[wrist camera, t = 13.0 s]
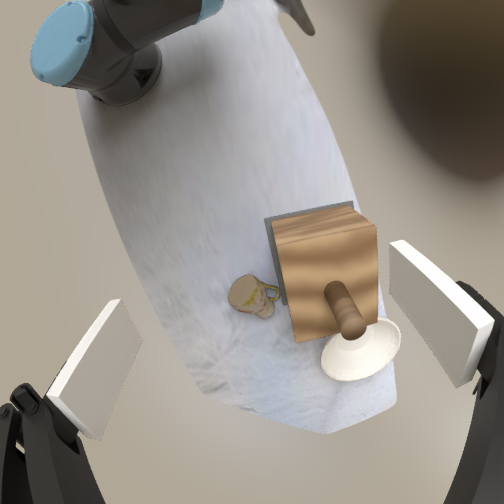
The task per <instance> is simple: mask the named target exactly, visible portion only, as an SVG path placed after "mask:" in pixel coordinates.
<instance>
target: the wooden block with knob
mask: <svg viewBox="0 0 504 504" xmlns="http://www.w3.org/2000/svg"><path fill="white" fill-rule="evenodd" d="M271 224H272V228H273V233H274V238H275V242H276V247H277V252H278V257H279V262H280V266H281V271H282V276H283V281H284V286H285V291H286V296H287V301H288V306H289V311H290V316H291V321H292V326H293V331H294V336H295V341H296V343H299V342H303V341H308V340H312V339H317V338H321V337H326V336H330V335H334V334H338V333H341V335H342V337H343V338H344V339H345V340H349V341H352V340H356V339H358V338H360V337H361V336H362V335H363V334H364V333H365V332H366V329H367V326H368V325H372V324H375V323H378V252H377V251H378V250H377V232H376V226H375V225H374V224H372V223H371V222H370V221H368V220H367V219H366V218H364V217H363V216H362V215H361V214H359V213H358V212H357V211H355V210H354V209H352V208H351V207H350V206H348V205H346V206H340V207H335V208H330V209H325V210H320V211H315V212H310V213H305V214H301V215H296V216H291V217H286V218H281V219H277V220H272V221H271Z"/></svg>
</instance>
